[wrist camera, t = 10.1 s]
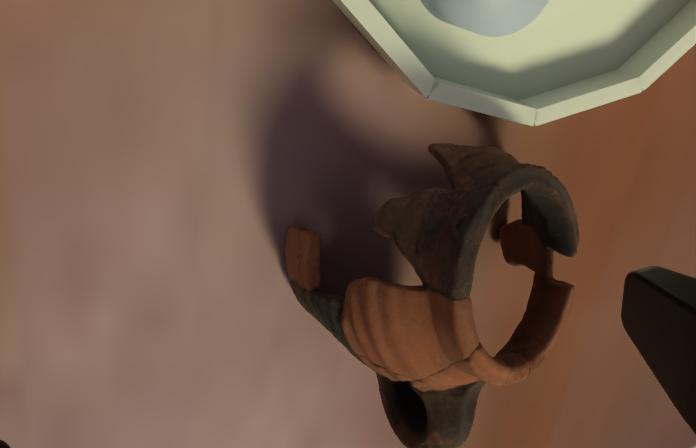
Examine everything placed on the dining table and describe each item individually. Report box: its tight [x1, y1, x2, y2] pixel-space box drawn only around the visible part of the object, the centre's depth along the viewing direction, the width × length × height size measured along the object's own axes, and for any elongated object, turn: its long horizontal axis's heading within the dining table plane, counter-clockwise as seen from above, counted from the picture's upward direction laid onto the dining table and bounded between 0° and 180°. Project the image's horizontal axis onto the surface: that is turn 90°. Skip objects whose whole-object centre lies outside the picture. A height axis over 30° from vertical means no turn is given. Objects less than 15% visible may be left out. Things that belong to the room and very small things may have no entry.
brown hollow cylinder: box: [285, 144, 579, 448], centre depth 21 cm, size 12×10×8 cm
